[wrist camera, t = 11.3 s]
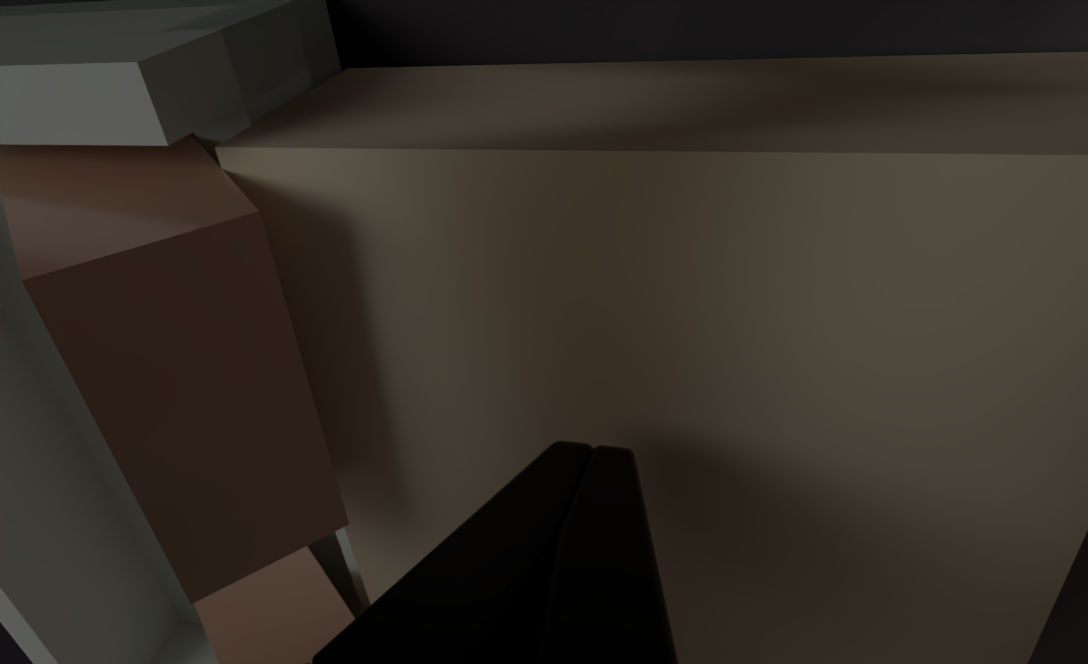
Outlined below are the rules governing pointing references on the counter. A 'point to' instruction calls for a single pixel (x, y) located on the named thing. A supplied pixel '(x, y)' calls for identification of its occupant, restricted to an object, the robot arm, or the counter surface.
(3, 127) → the tray
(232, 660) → the tile far
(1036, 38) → the counter surface
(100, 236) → the tile near
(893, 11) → the counter surface
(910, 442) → the tan flat block
